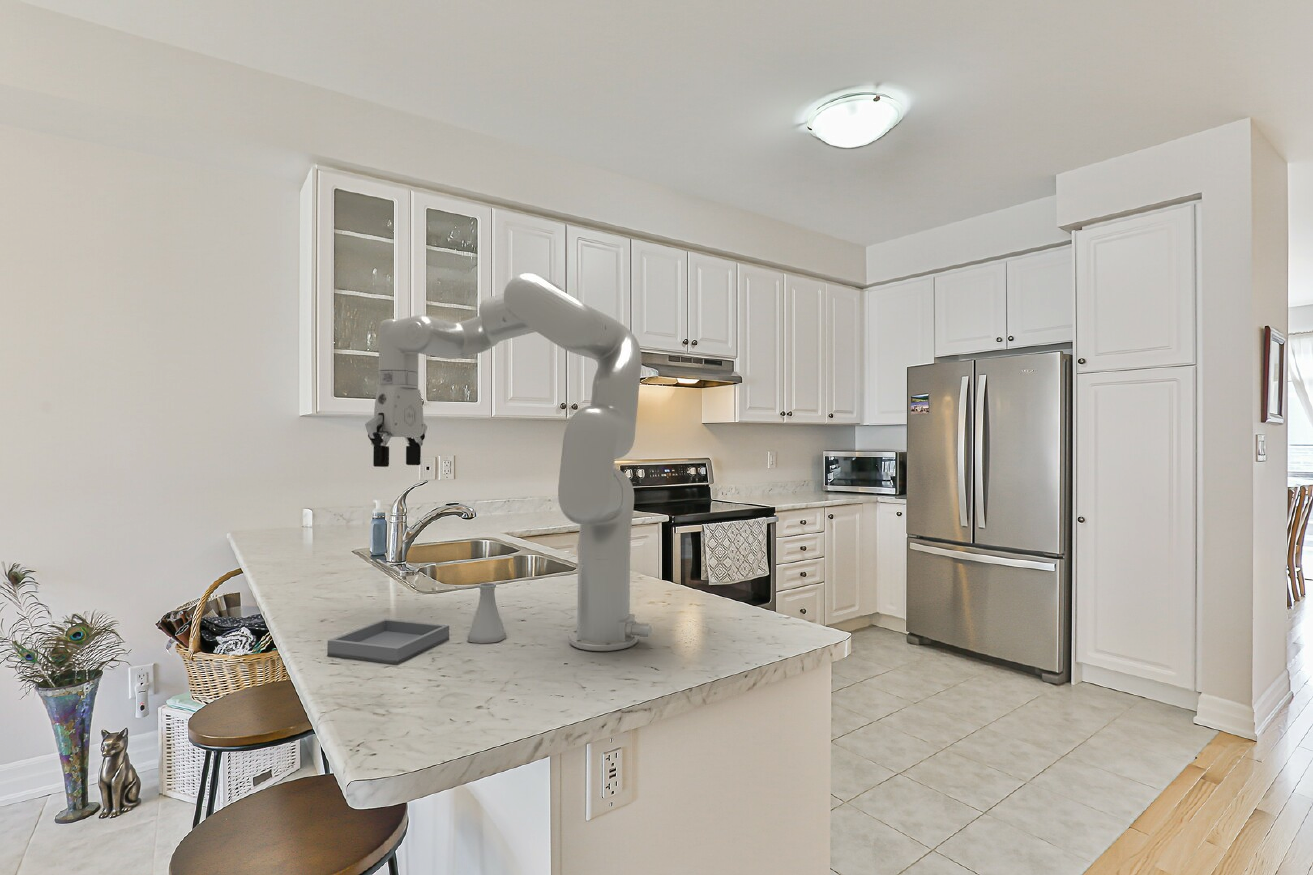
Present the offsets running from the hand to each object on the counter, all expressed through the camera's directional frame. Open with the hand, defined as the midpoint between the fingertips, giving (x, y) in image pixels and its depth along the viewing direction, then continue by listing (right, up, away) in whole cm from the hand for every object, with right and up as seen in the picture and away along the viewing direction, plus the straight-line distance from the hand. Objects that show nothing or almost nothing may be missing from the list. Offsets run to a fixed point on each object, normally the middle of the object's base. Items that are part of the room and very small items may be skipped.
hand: (397, 465), depth 131 cm
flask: (+21, -32, -12) cm, 40 cm away
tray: (+6, -31, -18) cm, 36 cm away
